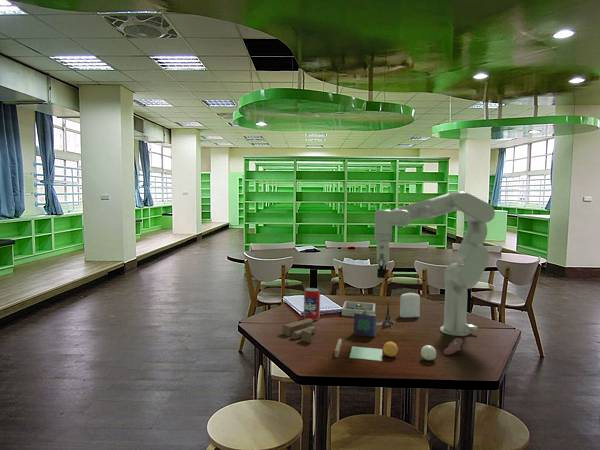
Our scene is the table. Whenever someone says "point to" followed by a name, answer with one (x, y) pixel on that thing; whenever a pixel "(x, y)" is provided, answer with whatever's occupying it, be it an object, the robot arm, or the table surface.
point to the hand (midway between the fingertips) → (381, 275)
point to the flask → (365, 324)
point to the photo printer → (409, 305)
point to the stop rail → (338, 348)
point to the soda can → (312, 303)
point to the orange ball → (390, 349)
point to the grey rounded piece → (358, 306)
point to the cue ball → (428, 352)
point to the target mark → (366, 353)
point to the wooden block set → (300, 329)
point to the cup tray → (353, 305)
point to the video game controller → (453, 346)
